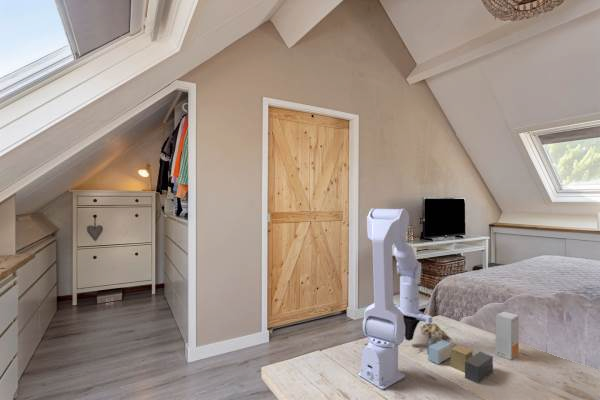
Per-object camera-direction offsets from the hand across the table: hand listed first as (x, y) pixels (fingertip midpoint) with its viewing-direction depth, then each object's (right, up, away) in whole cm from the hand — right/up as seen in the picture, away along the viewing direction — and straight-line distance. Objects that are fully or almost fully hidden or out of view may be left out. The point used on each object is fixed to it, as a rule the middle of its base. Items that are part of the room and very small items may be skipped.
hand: (409, 339), depth 97 cm
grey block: (+13, -2, -17) cm, 21 cm away
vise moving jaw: (+6, -2, -7) cm, 9 cm away
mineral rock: (+12, -3, +8) cm, 14 cm away
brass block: (+10, -2, -13) cm, 17 cm away
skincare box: (+28, -2, -5) cm, 28 cm away
